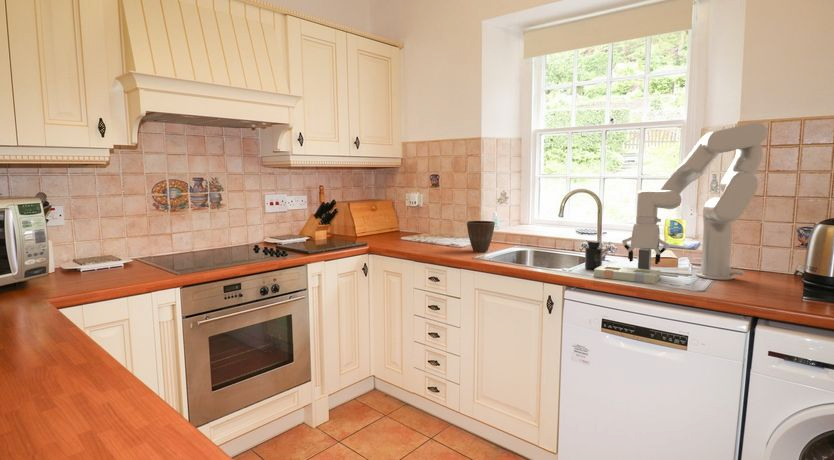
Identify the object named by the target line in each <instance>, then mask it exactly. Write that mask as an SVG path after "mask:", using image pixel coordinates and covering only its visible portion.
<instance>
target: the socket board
mask: <svg viewBox="0 0 834 460" xmlns="http://www.w3.org/2000/svg"><path fill="white" fill-rule="evenodd" d="M661 274H662V270H657V269H650V270H649V269H639V268H638V267H629V266H628V267H625V266H618V265H617V266H616V265H606V264H602V265H601V266H599V267H597V268H596V269H594V270H593V277H594V278H600V279H601V278H603V279H609V280H610V279H611V280H621V281H626V282H628V281H629V282H636V283H644V282H645V284H654V285H655V284H657V282H658V281H660V279H661Z"/></svg>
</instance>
